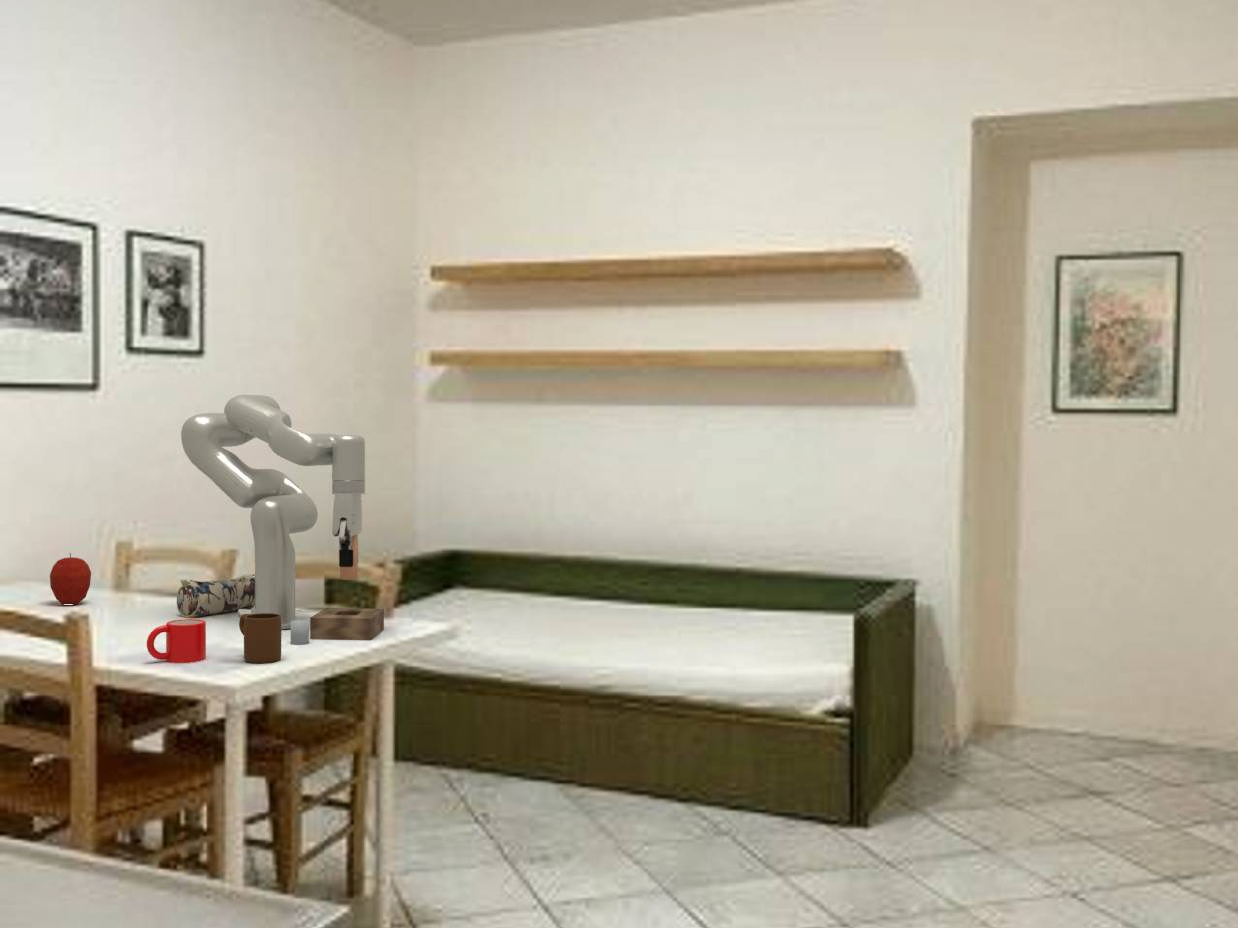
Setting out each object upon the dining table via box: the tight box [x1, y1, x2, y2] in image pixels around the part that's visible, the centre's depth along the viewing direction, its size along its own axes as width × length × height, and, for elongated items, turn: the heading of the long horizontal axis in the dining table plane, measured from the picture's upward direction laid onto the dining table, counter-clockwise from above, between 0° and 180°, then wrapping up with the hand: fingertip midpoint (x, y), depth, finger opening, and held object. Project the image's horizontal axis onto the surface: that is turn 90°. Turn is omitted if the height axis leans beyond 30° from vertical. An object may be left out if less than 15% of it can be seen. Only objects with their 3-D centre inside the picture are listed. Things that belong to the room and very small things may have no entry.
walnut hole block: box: [309, 607, 385, 641], centre depth 290 cm, size 14×14×5 cm
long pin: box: [339, 530, 359, 581], centre depth 289 cm, size 4×4×12 cm
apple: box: [49, 552, 92, 605], centre depth 328 cm, size 10×10×14 cm
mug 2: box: [238, 613, 282, 664], centre depth 260 cm, size 12×8×9 cm, turn 49°
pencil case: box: [176, 573, 255, 619], centre depth 318 cm, size 22×8×10 cm, turn 146°
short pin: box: [290, 619, 310, 646], centre depth 278 cm, size 4×4×5 cm
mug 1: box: [146, 618, 207, 664], centre depth 257 cm, size 8×12×8 cm, turn 130°
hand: (348, 564), depth 289 cm, fingers closed on long pin, 4 cm apart
